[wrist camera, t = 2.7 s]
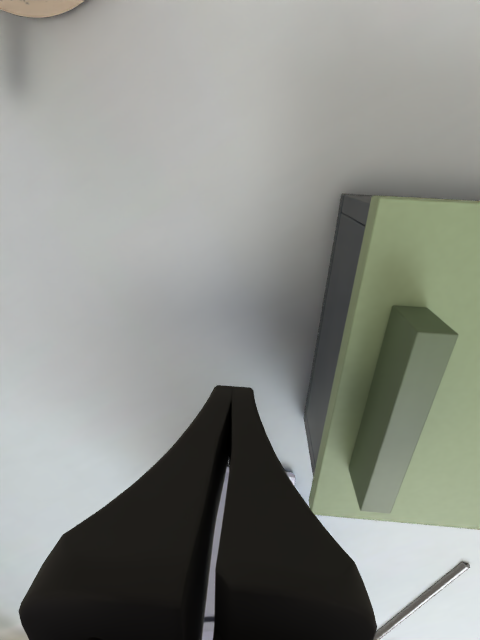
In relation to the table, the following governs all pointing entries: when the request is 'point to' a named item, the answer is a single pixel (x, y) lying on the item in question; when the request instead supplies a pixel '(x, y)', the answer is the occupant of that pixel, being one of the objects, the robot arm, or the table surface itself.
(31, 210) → the table surface
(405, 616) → the rod
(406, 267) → the lid
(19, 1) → the teacup with lid
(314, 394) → the bin
